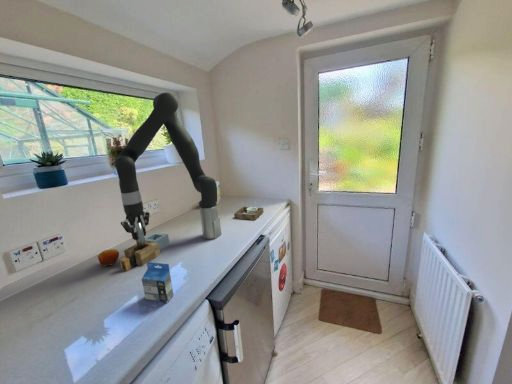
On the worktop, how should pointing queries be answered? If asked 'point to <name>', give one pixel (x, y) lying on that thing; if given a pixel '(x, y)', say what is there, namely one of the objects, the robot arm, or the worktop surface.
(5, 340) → the worktop surface
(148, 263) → the blue retail carton
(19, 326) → the worktop surface
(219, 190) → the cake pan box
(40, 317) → the worktop surface
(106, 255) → the fruit
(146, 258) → the socket block
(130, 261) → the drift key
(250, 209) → the teacup
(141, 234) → the peg
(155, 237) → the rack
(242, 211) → the cup corral
